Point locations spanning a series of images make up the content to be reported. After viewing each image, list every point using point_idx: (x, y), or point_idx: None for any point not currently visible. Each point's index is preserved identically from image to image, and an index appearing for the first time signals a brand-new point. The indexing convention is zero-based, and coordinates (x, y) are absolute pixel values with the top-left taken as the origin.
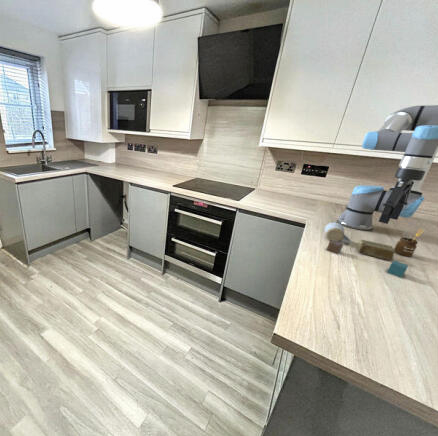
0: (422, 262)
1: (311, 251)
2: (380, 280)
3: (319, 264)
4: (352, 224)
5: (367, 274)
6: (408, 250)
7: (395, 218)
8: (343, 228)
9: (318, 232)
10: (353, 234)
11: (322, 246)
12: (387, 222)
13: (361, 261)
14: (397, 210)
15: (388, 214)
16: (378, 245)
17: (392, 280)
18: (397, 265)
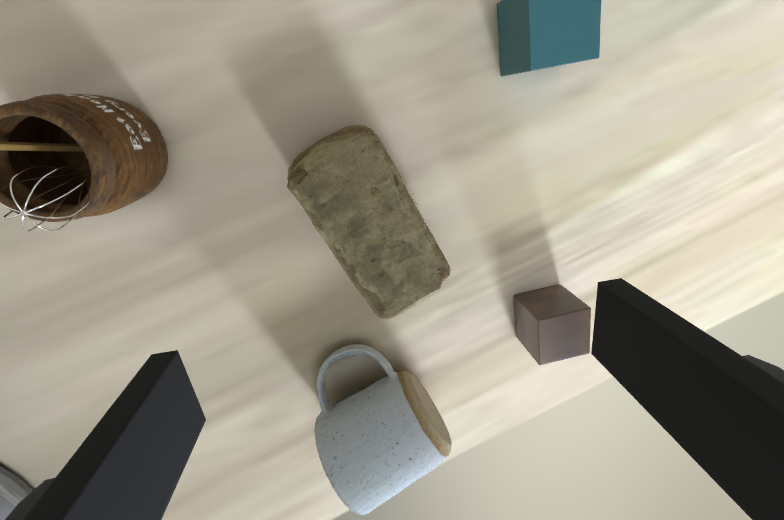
0: (123, 14)
1: None
2: (695, 38)
3: (751, 245)
4: (10, 512)
5: (678, 101)
6: (128, 118)
7: (178, 374)
8: (350, 447)
9: None
10: None
11: None
12: (633, 290)
13: (538, 191)
14: (122, 497)
15: (776, 366)
16: (381, 227)
17: (641, 5)
18: (599, 23)
